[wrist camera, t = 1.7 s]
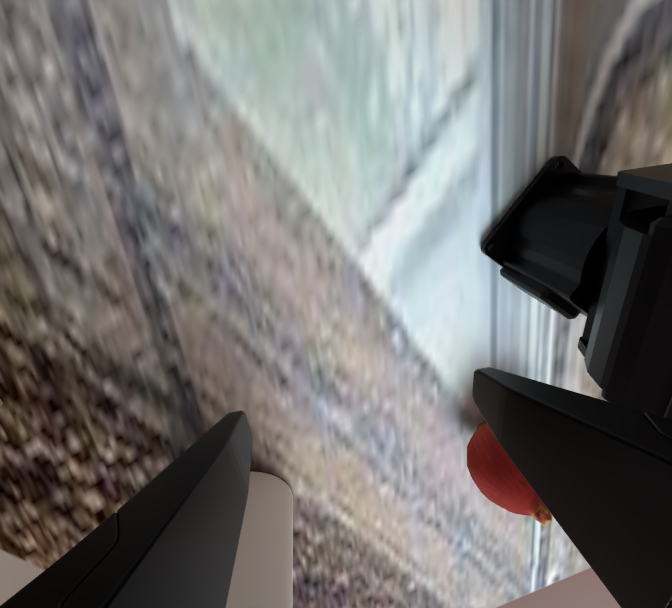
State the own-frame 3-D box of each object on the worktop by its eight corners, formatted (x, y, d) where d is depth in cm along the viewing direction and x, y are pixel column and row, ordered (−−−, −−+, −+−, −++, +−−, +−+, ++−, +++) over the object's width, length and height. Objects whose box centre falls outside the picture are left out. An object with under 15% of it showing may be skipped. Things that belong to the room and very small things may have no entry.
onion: (520, 391, 26) (606, 483, 19) (514, 443, 29) (587, 541, 22) (449, 405, 26) (509, 503, 19) (449, 456, 28) (502, 559, 21)
